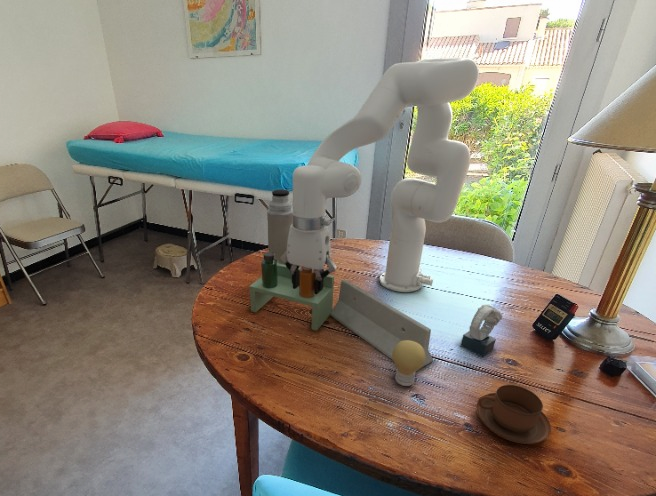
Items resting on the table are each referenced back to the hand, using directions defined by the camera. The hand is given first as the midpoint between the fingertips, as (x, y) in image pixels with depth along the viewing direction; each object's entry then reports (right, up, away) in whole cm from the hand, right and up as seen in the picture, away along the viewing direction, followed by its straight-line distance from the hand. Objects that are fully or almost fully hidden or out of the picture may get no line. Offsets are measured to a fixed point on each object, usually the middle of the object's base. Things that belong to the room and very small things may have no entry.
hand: (307, 288), depth 102 cm
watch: (+39, -14, -7) cm, 42 cm away
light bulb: (+19, -20, -17) cm, 32 cm away
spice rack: (-4, -6, +8) cm, 11 cm away
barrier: (+17, -12, -2) cm, 21 cm away
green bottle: (-10, +1, +6) cm, 11 cm away
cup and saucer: (+35, -25, -27) cm, 51 cm away
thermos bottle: (-6, +3, +26) cm, 27 cm away
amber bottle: (0, -1, +1) cm, 2 cm away
